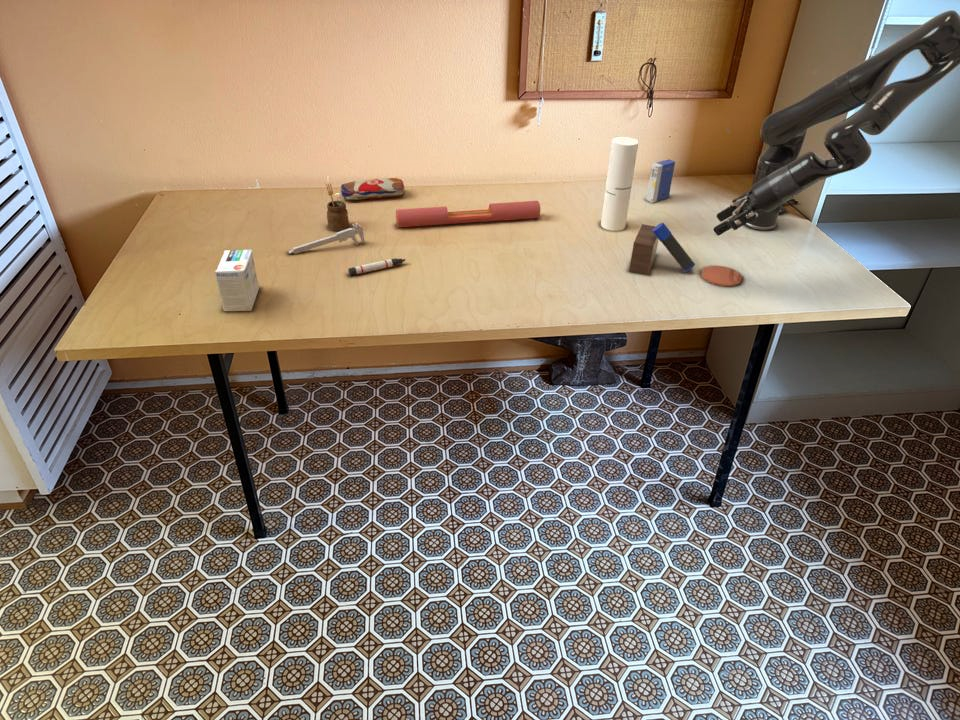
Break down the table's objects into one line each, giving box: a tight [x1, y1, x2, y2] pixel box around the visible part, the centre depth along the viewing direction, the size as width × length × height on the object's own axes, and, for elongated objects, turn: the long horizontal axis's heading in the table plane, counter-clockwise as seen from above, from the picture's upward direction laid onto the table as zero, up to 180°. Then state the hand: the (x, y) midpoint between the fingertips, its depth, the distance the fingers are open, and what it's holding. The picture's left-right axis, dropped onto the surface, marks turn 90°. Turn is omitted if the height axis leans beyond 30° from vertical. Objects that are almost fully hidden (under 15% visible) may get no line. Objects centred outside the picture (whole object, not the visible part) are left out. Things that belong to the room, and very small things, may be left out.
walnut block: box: [628, 223, 660, 276], centre depth 185 cm, size 12×5×8 cm, turn 159°
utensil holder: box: [325, 182, 350, 232], centre depth 198 cm, size 6×6×12 cm
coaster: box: [701, 265, 743, 287], centre depth 182 cm, size 10×10×1 cm
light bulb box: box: [214, 249, 260, 312], centre depth 165 cm, size 11×7×11 cm, turn 5°
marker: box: [347, 257, 406, 276], centre depth 181 cm, size 15×2×2 cm, turn 117°
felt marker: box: [652, 222, 696, 273], centre depth 182 cm, size 3×12×12 cm, turn 70°
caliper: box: [288, 222, 365, 255], centre depth 189 cm, size 20×1×6 cm, turn 111°
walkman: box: [645, 158, 676, 204], centre depth 219 cm, size 8×3×12 cm, turn 127°
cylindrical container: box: [600, 136, 639, 232], centre depth 199 cm, size 7×7×25 cm
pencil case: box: [339, 177, 406, 201], centre depth 218 cm, size 11×20×5 cm, turn 89°
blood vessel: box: [395, 200, 541, 228], centre depth 205 cm, size 42×5×5 cm, turn 101°
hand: (716, 225), depth 175 cm, fingers open, 8 cm apart
